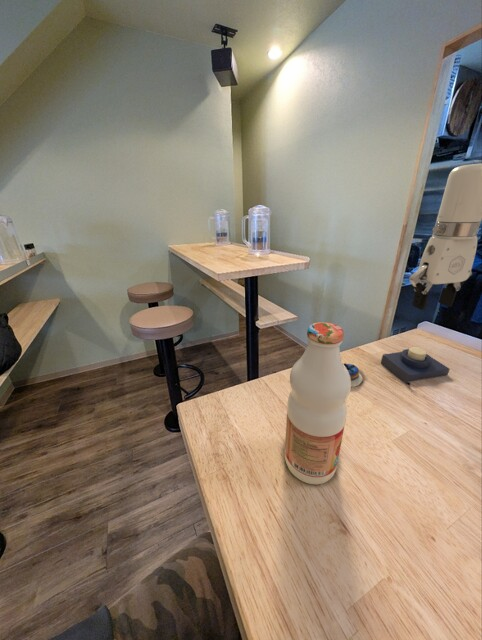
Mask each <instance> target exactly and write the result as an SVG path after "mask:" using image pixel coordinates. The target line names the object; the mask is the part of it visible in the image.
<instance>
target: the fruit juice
mask: <svg viewBox="0 0 482 640" xmlns="http://www.w3.org/2000/svg"><path fill="white" fill-rule="evenodd" d="M344 333H345V332H344V330H343V328H342V327H341V326H339V325H338V324H335V323H331V322H327V321H326V322H323V321H322V322H321V321H320V322H313V323H311V324H310V325H309V326H308V327H307V332H306V339H307V341H308V343H307V345H306V348H305V350H304V352H303V353H302V356H301V357H300V358H298V359H297V360H296V362H295V363H294V364H293V365H292V367H291V370H290V372H289V384H290V385H289V386H290V389H291V391H290V392H289V395H288V399H287V406H286V422H285V423H286V425H285V440H284V441H285V442H284V459H285V463H286V466H287V468H288V470H289V472H290V473H291V474H292V475H293V476H294V477H295V478H296V479H298V480H299V481H301V482H303V483H306V484H309V485H322V484H324V483H327V482H328V481H330V480H331V479H332V478H333V476H335V473H336V471H337V467H338V462H339V457H340V451H341V446H342V442H343V435H344V431H345V425H346V420H347V413H348V412H347V411H348V408H347V402H346V400H347V399H348V397H349V395H350V392H351V388H352V387H351V378H350V374H349V372H348V370H347V369H346V367H345V366H344V365H343V364H344V363H343V361H342V356H341V349H340V347H341V344H342V343H343V341H344Z"/></svg>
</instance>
